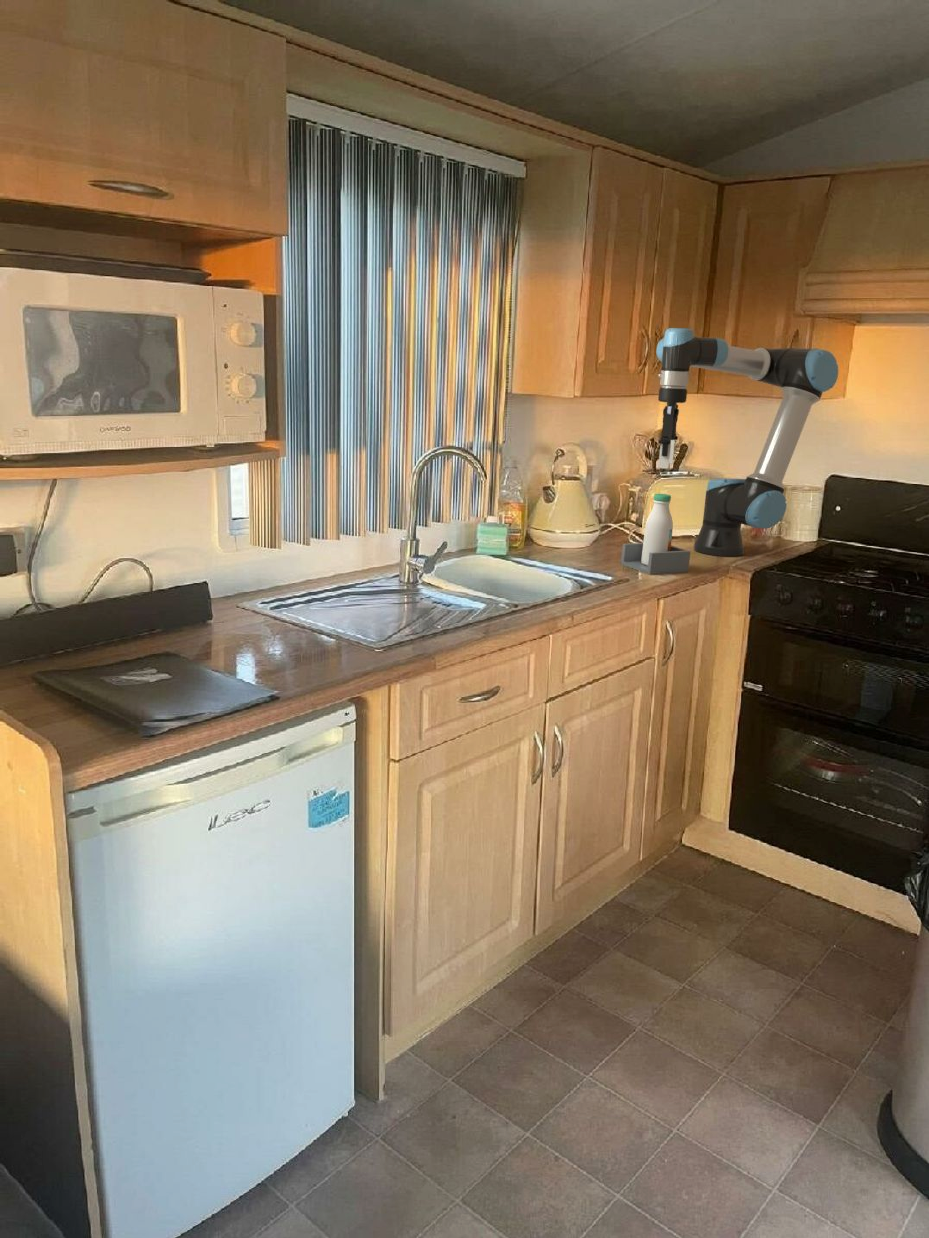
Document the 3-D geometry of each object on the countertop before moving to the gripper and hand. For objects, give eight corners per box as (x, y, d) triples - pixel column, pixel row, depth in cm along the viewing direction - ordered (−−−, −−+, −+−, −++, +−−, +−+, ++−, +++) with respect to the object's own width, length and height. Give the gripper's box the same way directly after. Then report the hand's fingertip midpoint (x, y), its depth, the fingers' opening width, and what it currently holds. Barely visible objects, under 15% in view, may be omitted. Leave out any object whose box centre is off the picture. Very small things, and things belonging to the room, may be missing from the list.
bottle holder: (658, 562, 283) (660, 541, 281) (687, 572, 271) (690, 551, 270) (620, 564, 277) (622, 543, 275) (649, 574, 265) (652, 553, 264)
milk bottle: (661, 569, 269) (669, 497, 263) (636, 564, 273) (643, 493, 268) (673, 565, 275) (681, 495, 269) (648, 560, 279) (656, 491, 274)
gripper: (663, 385, 275) (656, 460, 281) (655, 388, 252) (647, 469, 258) (690, 386, 273) (682, 462, 279) (684, 389, 250) (675, 471, 256)
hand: (665, 465), depth 269 cm, fingers open, 13 cm apart
